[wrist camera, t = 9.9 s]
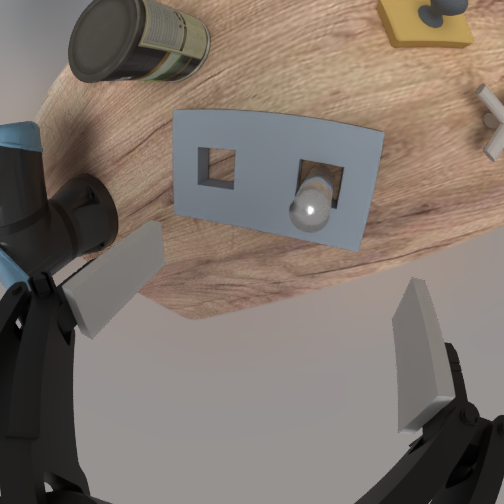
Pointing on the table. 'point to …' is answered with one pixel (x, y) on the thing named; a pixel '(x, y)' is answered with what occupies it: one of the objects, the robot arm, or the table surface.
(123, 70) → the coffee can
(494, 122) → the pipe connector
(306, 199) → the pin
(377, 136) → the socket board
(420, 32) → the rubber stamp
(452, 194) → the table surface
